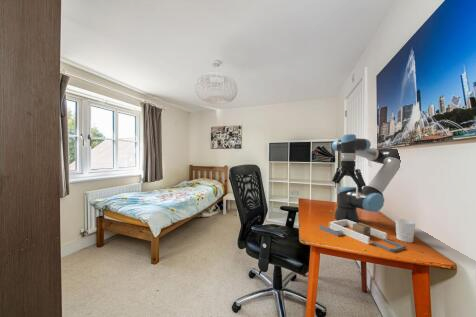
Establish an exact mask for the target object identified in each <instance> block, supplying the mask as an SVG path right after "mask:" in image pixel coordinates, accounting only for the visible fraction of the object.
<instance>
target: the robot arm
mask: <svg viewBox="0 0 476 317" xmlns="http://www.w3.org/2000/svg"><path fill="white" fill-rule="evenodd" d="M371 144H372V142H371V140H369V139H367V138H357V135H356V134H353V133H350V134H347V133H346V134H343V135H341V139H338V140H334V141H333V142H332V144H331V148H332V150H333V151H334V152H341V153H340V160H341V161H340V167H336V171H335V173H334V175H333V177H332V179H331V181H332V183H334V188H335V194H336V195H337V208H336V210H335V213H334V219H335V221H339V220H345V219H347V220H350V221H353V222H356V223H360V217H359V213H358V211H357V210H358V209H361V210H365V211H367V212H372V213H375V212H378V211H380V210H381V209H383V207H384V203H385V197H384V194H383V193H384V191H386V189H387V187H388V186H389V184H390V182H392V180H393V178H394V177H395V176H396V174H397V173H398V171H400V170H399V168H400V163H401V160H400V156H399V153H398V150H397V149H392V148H393V147H392V148H391V147H389V148H386V147H384V148H376V147H371V146H372V145H371ZM356 157H361V158H365V159H366V160H367V161H370V162H374V163H377V164H382V166H381V167H380V168H379V170H378V171H377V173H375V175H374V177H373V178H372V179H371V181H370V182H369V183H368V185H366V182H365V180H364V177H363V175H362V173H361V171H362V170H361V169H359V168H357V169H356V161H355V160H356ZM344 177H350V178H351V179H352V180H353V182H354V183H355V184H356V186H341V183H340V182H341V180H342V179H343V178H344Z"/></svg>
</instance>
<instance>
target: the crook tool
mask: <svg viewBox="0 0 476 317" xmlns="http://www.w3.org/2000/svg"><path fill="white" fill-rule="evenodd" d="M318 229H319V230H321V231H324V232H326V233H328V234H331V235H333V236H335V237H339V236H343V235H344V234H343V231H341V230H339V231H335V230H333V229H330V228H329V227H327V226H324V225H323V224H321V225H320V224H319V226H318Z"/></svg>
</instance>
